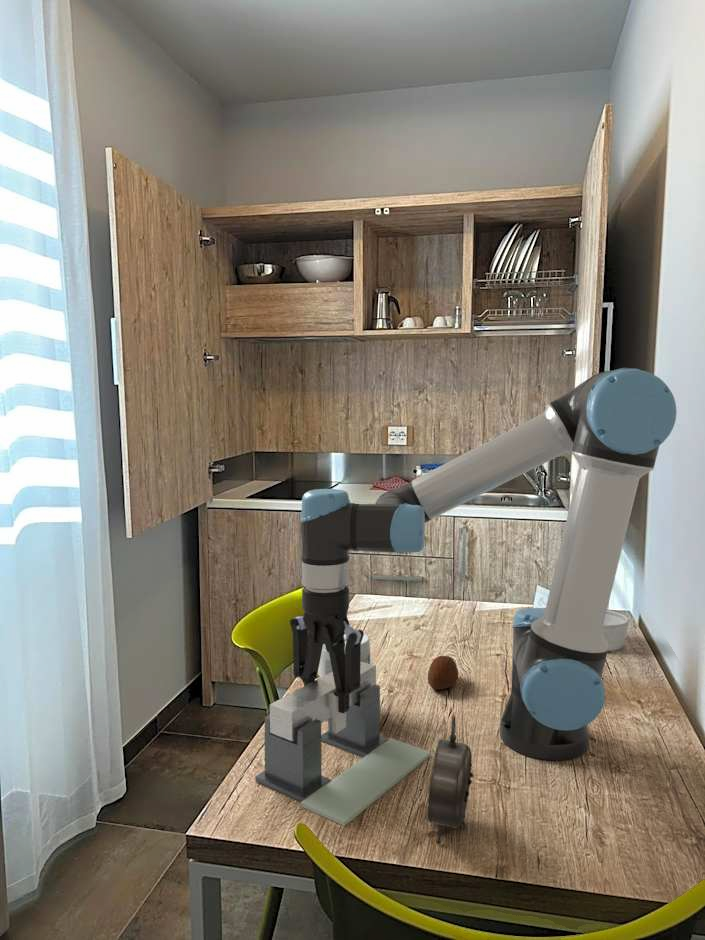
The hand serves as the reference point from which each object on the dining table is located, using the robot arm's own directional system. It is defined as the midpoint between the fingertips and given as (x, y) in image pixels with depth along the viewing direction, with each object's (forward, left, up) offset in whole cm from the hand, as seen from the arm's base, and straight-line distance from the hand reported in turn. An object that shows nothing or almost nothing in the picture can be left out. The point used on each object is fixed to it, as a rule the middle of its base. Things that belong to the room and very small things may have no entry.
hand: (326, 724), depth 115 cm
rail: (0, 0, +3) cm, 3 cm away
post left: (0, +8, -6) cm, 10 cm away
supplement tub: (+8, -16, -7) cm, 19 cm away
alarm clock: (-25, +3, -7) cm, 26 cm away
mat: (-9, 0, -6) cm, 11 cm away
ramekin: (-19, -82, -7) cm, 84 cm away
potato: (-1, -38, -7) cm, 39 cm away
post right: (0, -8, -6) cm, 10 cm away
